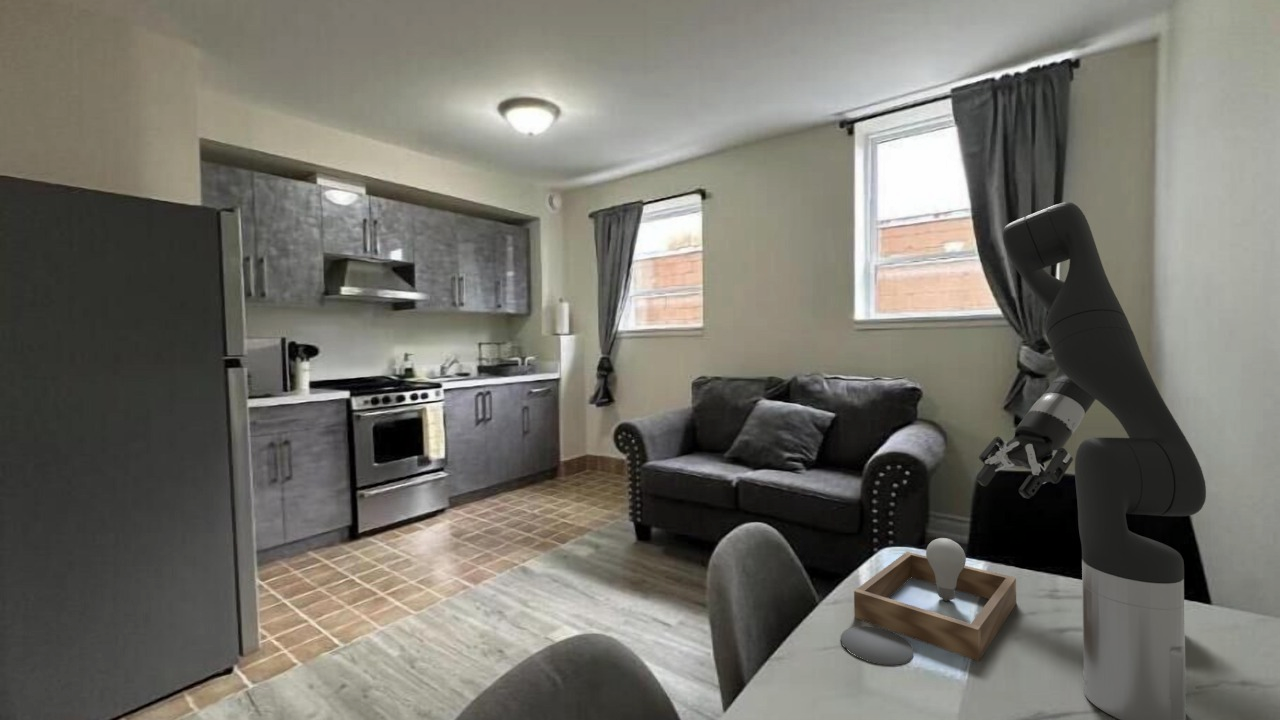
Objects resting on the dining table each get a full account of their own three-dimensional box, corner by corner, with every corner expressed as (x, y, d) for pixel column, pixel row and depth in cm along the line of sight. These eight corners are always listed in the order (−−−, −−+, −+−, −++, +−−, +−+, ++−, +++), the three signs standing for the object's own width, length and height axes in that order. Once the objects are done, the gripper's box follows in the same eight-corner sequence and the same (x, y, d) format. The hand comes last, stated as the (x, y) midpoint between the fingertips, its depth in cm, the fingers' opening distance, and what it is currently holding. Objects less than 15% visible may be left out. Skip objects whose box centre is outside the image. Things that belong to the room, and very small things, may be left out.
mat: (923, 645, 80) (923, 642, 80) (898, 674, 73) (898, 671, 73) (857, 622, 87) (857, 619, 87) (829, 646, 80) (829, 643, 80)
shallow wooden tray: (1016, 603, 92) (1015, 577, 92) (978, 661, 76) (978, 629, 75) (907, 574, 105) (906, 551, 105) (854, 617, 88) (854, 591, 88)
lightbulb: (955, 593, 97) (955, 533, 96) (973, 609, 90) (972, 545, 90) (920, 592, 97) (919, 532, 97) (936, 608, 91) (935, 544, 91)
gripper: (1003, 405, 105) (956, 467, 103) (1078, 414, 91) (1026, 485, 89) (1025, 430, 106) (979, 492, 104) (1102, 442, 93) (1051, 513, 90)
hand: (1001, 489), depth 96 cm, fingers open, 8 cm apart
